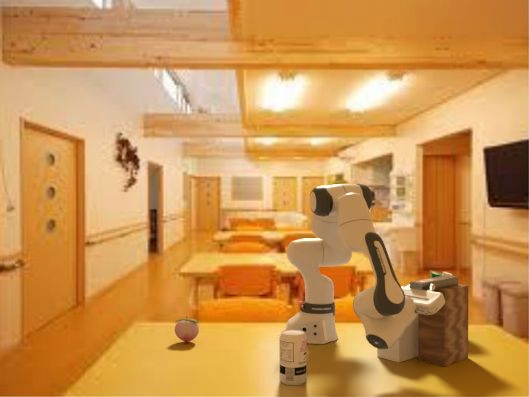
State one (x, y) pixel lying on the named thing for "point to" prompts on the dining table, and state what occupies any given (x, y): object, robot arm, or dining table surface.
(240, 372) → the dining table surface
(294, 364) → the supplement can
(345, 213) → the robot arm
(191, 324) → the decorative fruit
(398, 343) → the dock
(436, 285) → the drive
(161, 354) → the dining table surface
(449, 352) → the stand
